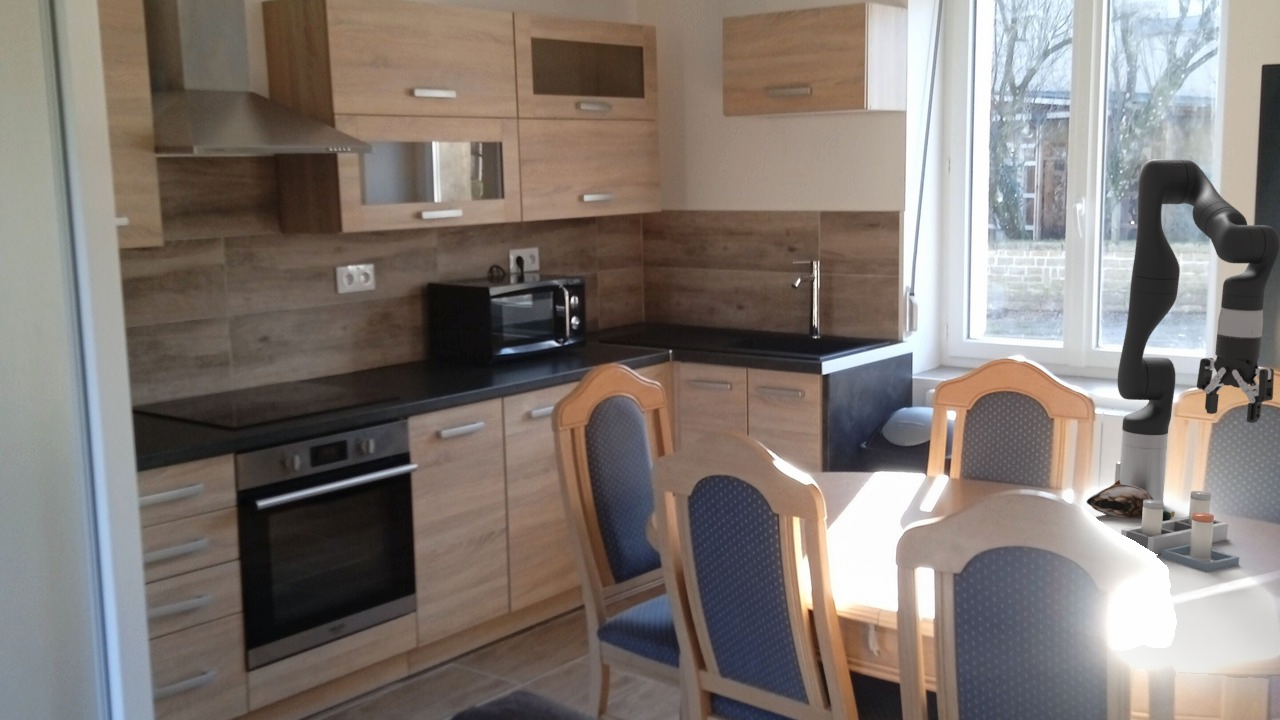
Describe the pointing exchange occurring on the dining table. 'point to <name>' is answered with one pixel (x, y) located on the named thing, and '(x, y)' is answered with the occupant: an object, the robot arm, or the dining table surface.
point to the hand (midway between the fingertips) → (1231, 417)
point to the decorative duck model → (1122, 501)
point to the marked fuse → (1201, 536)
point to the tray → (1220, 563)
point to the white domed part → (1199, 503)
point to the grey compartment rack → (1173, 535)
